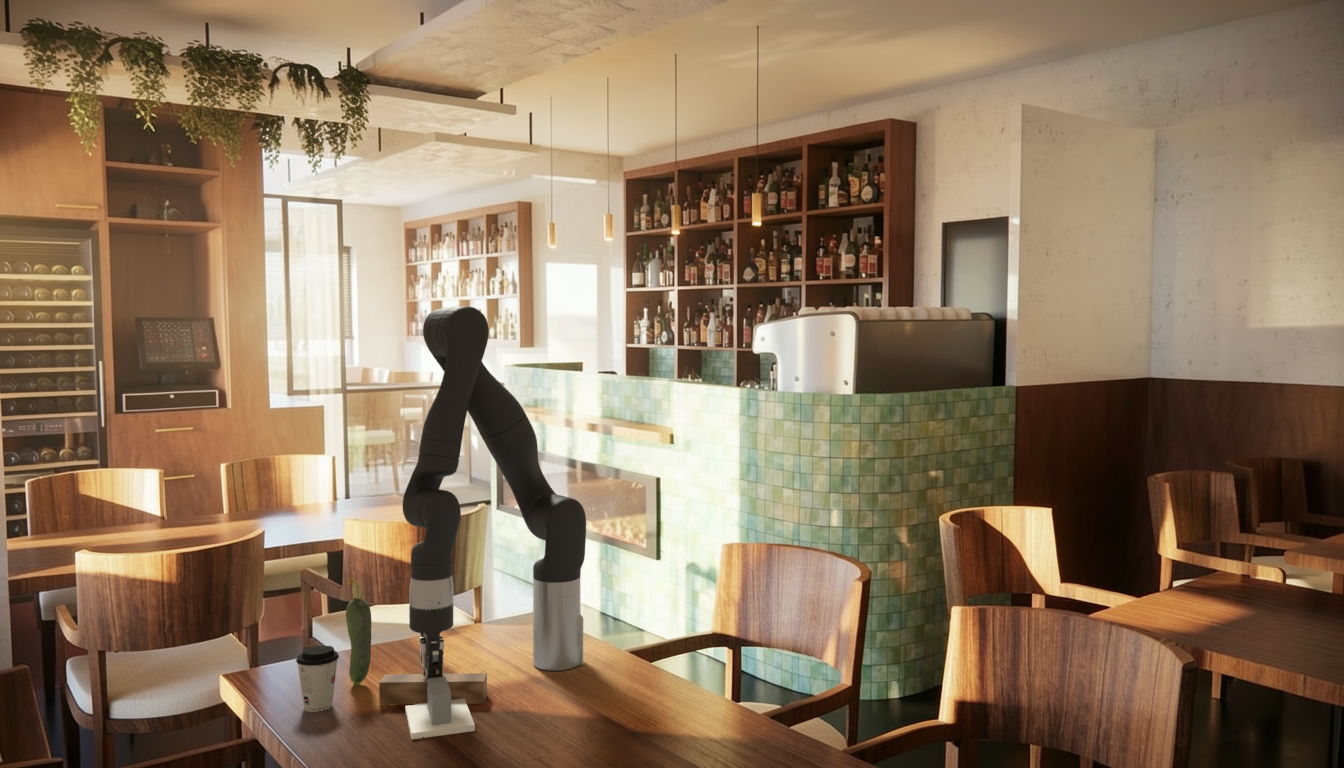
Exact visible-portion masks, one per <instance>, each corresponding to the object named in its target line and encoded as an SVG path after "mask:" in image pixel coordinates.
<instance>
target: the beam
mask: <svg viewBox="0 0 1344 768" xmlns="http://www.w3.org/2000/svg"><path fill="white" fill-rule="evenodd" d="M431 675H433V674H431ZM442 676H443V677H446V680H447V683H448V686H449V688H450V691H451V700H456V699H464V698H465V701H466V704H467V705H480V704H482V705H484V704H485V702H486V699H487V697H488V673H486V672H483V673H482V672H480V673H471V672H470V673H442ZM425 678H426V674H424V673H392V674H391V673H390V674H389V673H388V674H384V675H383V677H382V678H381V679H380V680H379V683H378V684H379V686H378V687H379V689H378V690H379V691H378V692H379V700H378V701H379V704H414V703H415V704H417V703H418V704H419V703H427V683H426V680H425Z"/></svg>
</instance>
